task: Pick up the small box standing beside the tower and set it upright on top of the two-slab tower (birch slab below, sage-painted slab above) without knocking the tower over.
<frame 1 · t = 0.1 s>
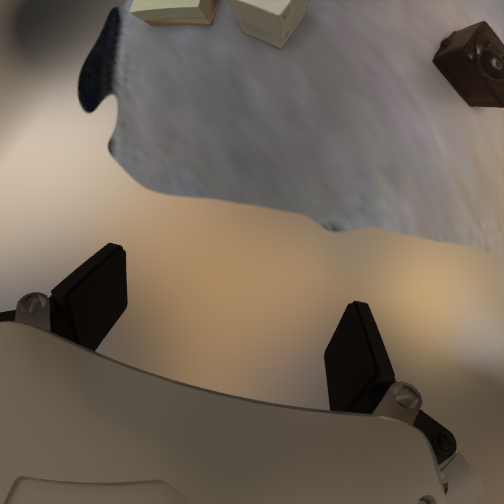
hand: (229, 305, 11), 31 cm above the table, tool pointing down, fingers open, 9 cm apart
manual coffee grinder: (456, 74, 28), on the table
small box: (274, 22, 29), on the table
tower base block: (189, 1, 28), on the table
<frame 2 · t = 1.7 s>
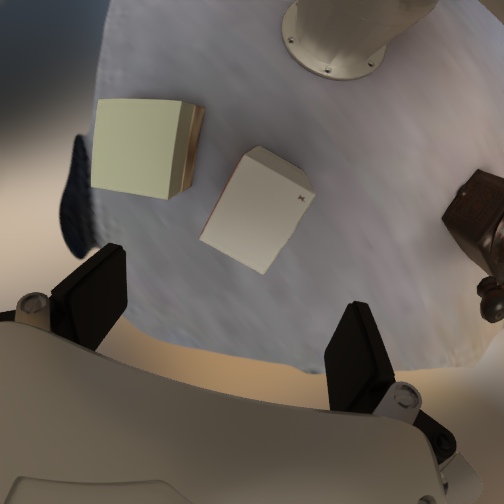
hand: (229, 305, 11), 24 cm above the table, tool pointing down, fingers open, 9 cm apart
manual coffee grinder: (464, 225, 32), on the table
tower top block: (146, 143, 28), point 4 cm above the table, touching tower base block
small box: (265, 185, 33), on the table
tower base block: (161, 141, 32), on the table, touching tower top block
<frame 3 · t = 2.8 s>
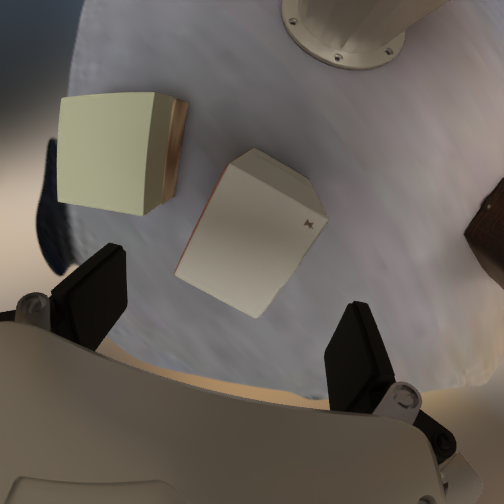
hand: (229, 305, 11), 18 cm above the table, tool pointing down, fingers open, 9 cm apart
manual coffee grinder: (487, 241, 26), on the table
tower top block: (120, 146, 23), point 4 cm above the table
small box: (261, 196, 28), on the table
tower base block: (140, 144, 27), on the table
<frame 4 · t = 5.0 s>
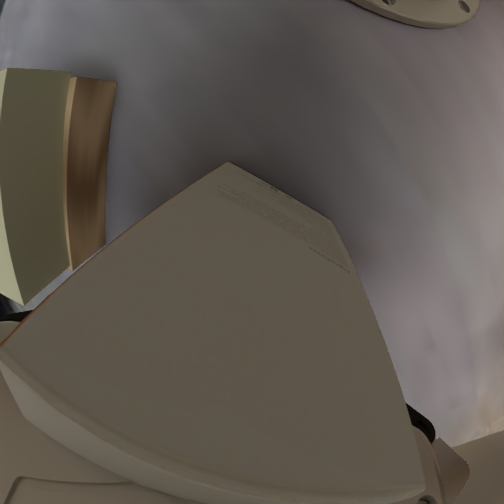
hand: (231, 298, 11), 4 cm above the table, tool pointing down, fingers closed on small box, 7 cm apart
tower top block: (9, 171, 11), point 4 cm above the table, touching tower base block
small box: (245, 250, 15), on the table, touching gripper
tower base block: (54, 160, 14), on the table, touching tower top block
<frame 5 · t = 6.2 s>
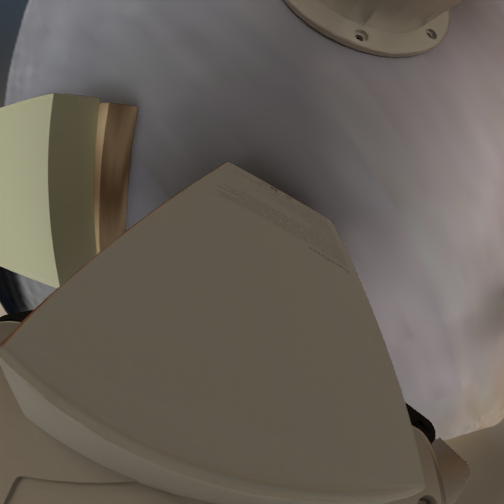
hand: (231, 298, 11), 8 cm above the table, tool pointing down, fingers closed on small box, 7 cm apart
tower top block: (41, 179, 14), point 4 cm above the table
small box: (245, 250, 15), point 3 cm above the table, touching gripper
tower base block: (79, 170, 18), on the table
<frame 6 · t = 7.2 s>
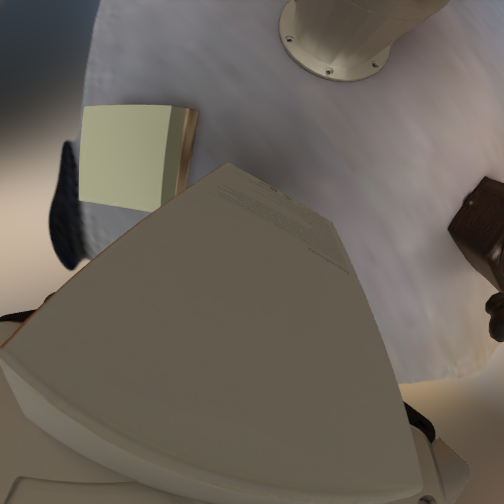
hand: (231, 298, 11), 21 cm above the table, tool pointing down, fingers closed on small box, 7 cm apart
manual coffee grinder: (471, 235, 30), on the table
tower top block: (137, 152, 26), point 4 cm above the table, touching tower base block
small box: (244, 251, 15), point 17 cm above the table, touching gripper
tower base block: (154, 148, 30), on the table, touching tower top block
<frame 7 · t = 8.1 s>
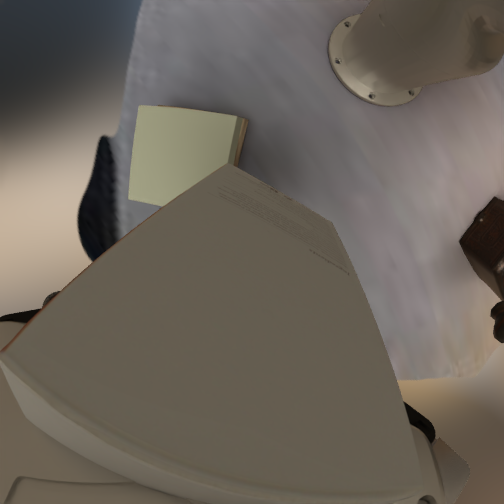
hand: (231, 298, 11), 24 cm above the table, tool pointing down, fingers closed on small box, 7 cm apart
manual coffee grinder: (478, 248, 33), on the table
tower top block: (189, 155, 29), point 4 cm above the table, touching tower base block
small box: (245, 251, 15), point 19 cm above the table, touching gripper
when the fingers open (14 cm above the table, at t = 11.7 s): small box drops 2 cm, resting on tower top block.
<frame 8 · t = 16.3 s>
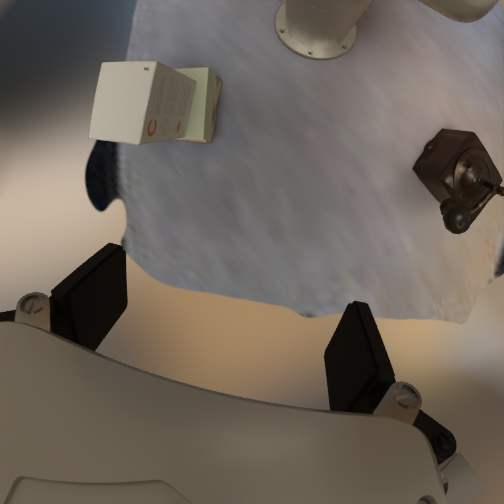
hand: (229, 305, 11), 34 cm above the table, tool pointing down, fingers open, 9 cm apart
manual coffee grinder: (435, 176, 39), on the table
tower top block: (179, 105, 35), point 4 cm above the table, touching small box, tower base block
small box: (169, 106, 32), point 7 cm above the table, touching tower top block
tower base block: (187, 108, 39), on the table, touching tower top block
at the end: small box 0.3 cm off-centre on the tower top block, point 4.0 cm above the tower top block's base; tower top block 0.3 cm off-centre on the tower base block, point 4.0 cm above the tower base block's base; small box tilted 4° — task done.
